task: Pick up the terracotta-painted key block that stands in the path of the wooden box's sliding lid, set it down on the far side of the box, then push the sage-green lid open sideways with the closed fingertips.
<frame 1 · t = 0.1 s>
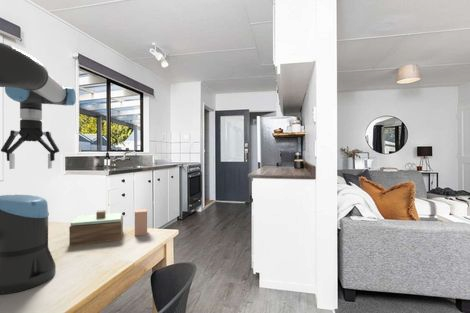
hand: (31, 168, 111), 28 cm above the table, fingers open, 13 cm apart
key block: (140, 233, 111), on the table
lid: (98, 215, 105), point 9 cm above the table, slide at 0.0 cm
wooden box: (98, 237, 105), on the table
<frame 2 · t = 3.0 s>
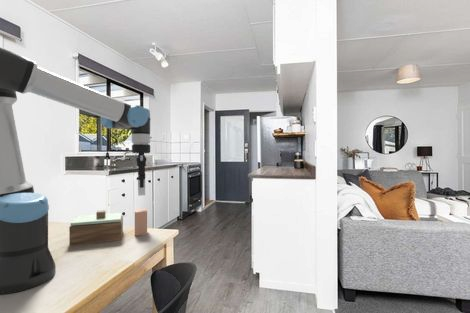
hand: (141, 192, 111), 18 cm above the table, fingers open, 13 cm apart
nothing on the table moved.
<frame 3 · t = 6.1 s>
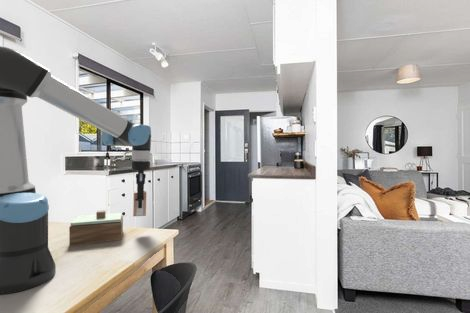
hand: (139, 213, 111), 9 cm above the table, fingers closed on key block, 5 cm apart
key block: (139, 214, 111), point 8 cm above the table, touching gripper
everything else where it was.
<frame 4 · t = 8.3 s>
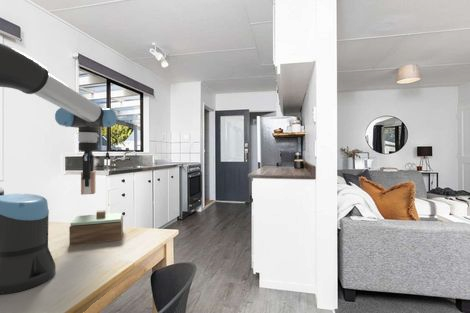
hand: (88, 192, 117), 17 cm above the table, fingers closed on key block, 5 cm apart
key block: (88, 193, 117), point 16 cm above the table, touching gripper
everything else where it was.
when the fingers open (0 cm above the table, at t = 11.0 s): key block stays where it is, on the table.
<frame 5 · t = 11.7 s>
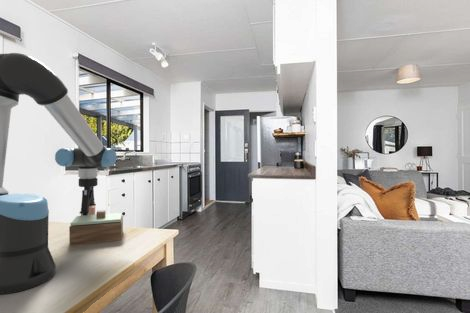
hand: (88, 223, 117), 2 cm above the table, fingers open, 13 cm apart
key block: (88, 228, 117), on the table
lid: (98, 215, 105), point 9 cm above the table, slide at 0.0 cm, touching gripper
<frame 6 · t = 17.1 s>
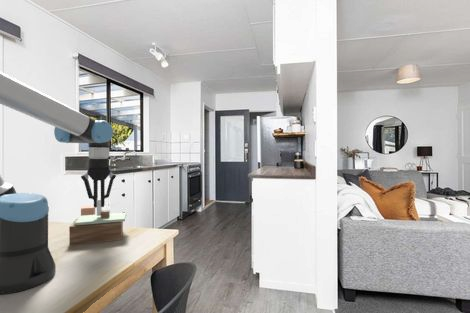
hand: (99, 214, 105), 9 cm above the table, fingers closed
lid: (102, 215, 106), point 9 cm above the table, slide at 1.6 cm, touching gripper
everything else where it was.
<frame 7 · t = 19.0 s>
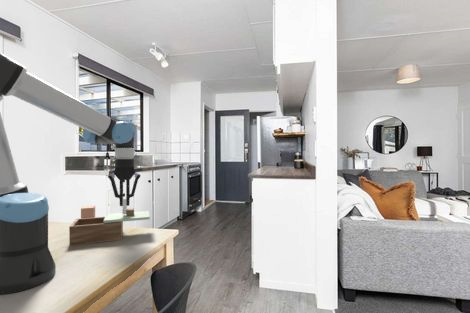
hand: (124, 213, 109), 9 cm above the table, fingers closed
lid: (127, 213, 109), point 9 cm above the table, slide at 11.2 cm, touching gripper
everything else where it was.
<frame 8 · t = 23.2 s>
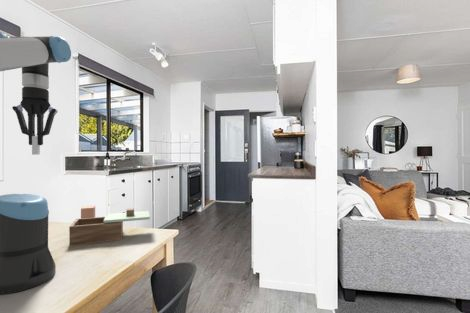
hand: (36, 154, 91), 34 cm above the table, fingers closed
lid: (127, 213, 109), point 9 cm above the table, slide at 11.2 cm
everything else where it was.
at the end: lid slide at 11.2 cm; key block inside the target area (0.0 cm from its centre), on the table; key block tilted 0° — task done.
